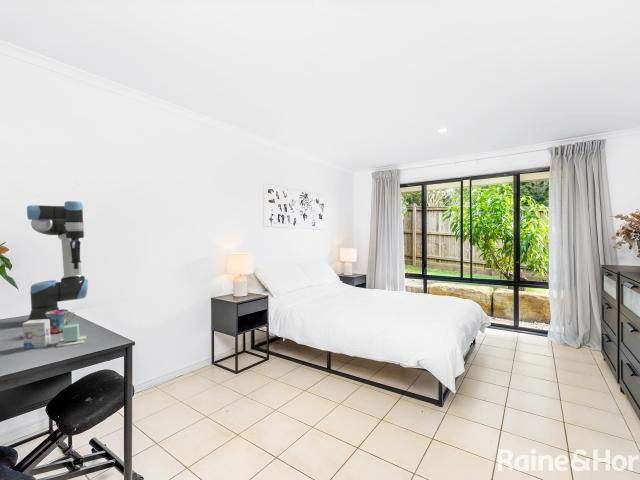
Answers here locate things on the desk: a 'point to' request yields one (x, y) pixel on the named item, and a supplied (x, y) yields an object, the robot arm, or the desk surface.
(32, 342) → the ink box
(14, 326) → the desk surface
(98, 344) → the desk surface
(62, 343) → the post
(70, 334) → the mint green block
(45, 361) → the desk surface
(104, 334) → the desk surface
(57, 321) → the mug
